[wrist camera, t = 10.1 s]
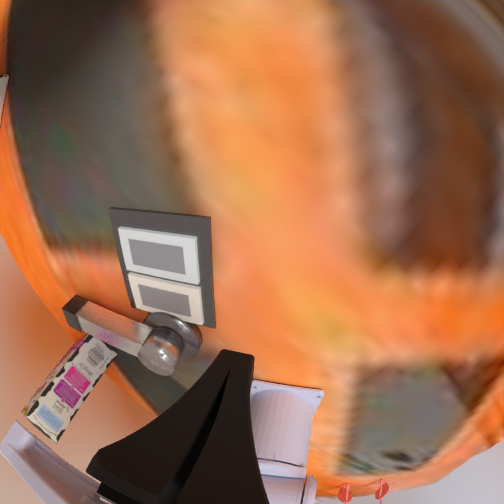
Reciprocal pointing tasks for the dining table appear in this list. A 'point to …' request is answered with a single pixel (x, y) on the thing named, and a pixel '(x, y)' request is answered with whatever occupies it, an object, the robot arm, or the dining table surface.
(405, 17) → the dining table surface
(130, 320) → the door handle
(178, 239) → the label
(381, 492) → the figurine
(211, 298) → the plate
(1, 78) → the medicine bottle
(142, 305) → the label
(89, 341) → the candy bar box
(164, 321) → the pivot base
